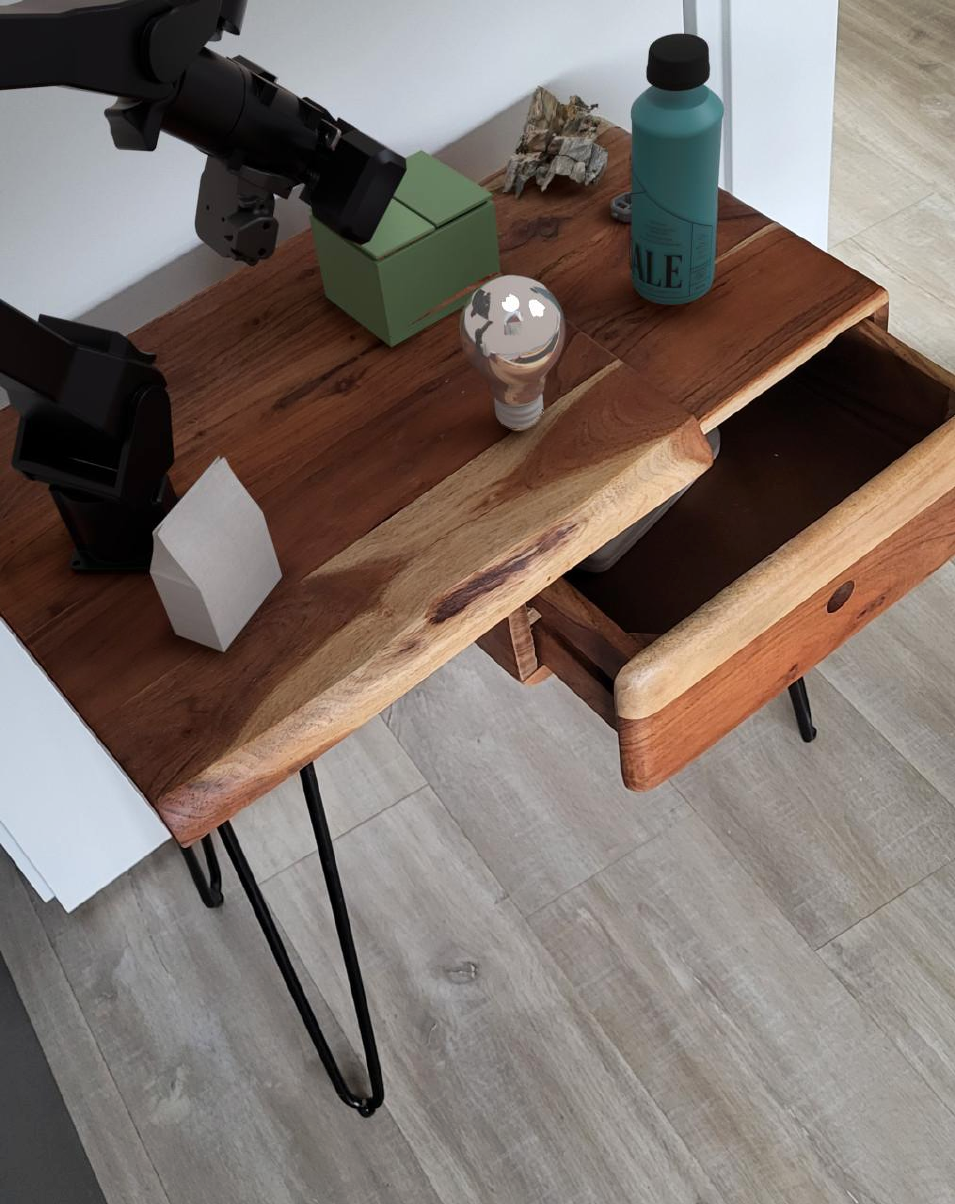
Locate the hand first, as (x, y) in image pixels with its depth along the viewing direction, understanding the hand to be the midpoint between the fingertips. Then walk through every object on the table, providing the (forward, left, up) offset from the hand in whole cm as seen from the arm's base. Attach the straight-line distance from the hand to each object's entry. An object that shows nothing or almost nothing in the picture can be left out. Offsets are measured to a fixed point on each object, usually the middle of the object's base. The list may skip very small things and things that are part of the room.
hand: (380, 187), depth 96 cm
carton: (+1, +1, -10) cm, 10 cm away
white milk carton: (-8, -31, -10) cm, 34 cm away
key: (+20, +15, -9) cm, 26 cm away
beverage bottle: (+21, -1, -10) cm, 23 cm away
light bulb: (+10, -15, -10) cm, 21 cm away
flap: (-1, -1, -2) cm, 3 cm away
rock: (+16, +18, -10) cm, 26 cm away
